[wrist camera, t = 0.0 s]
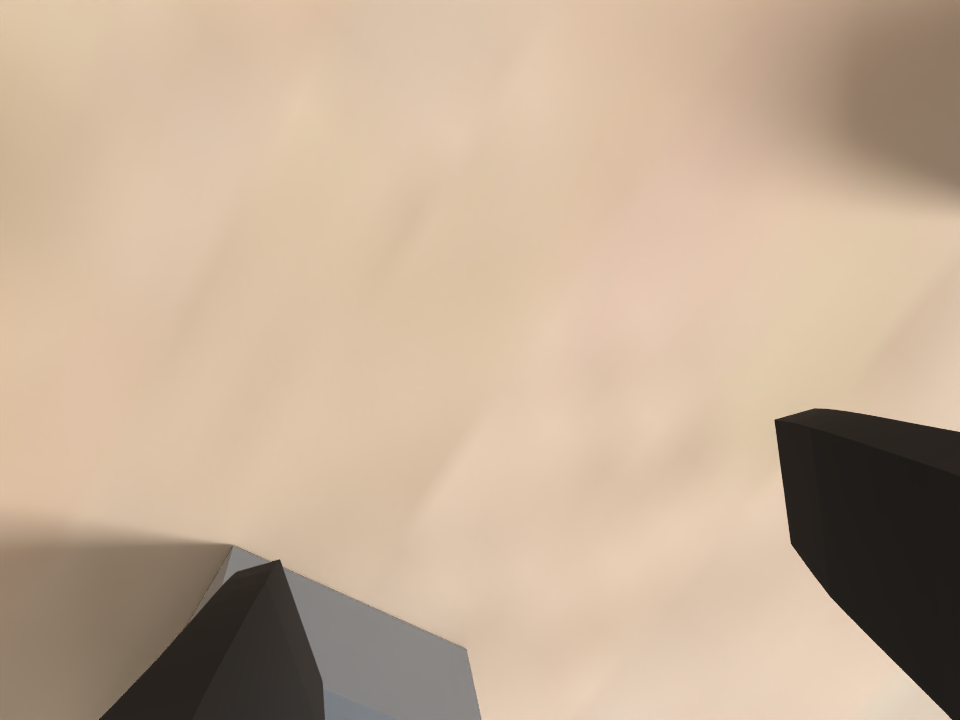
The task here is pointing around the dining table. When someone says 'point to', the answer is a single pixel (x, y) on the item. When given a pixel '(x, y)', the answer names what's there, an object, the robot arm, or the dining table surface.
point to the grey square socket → (371, 655)
